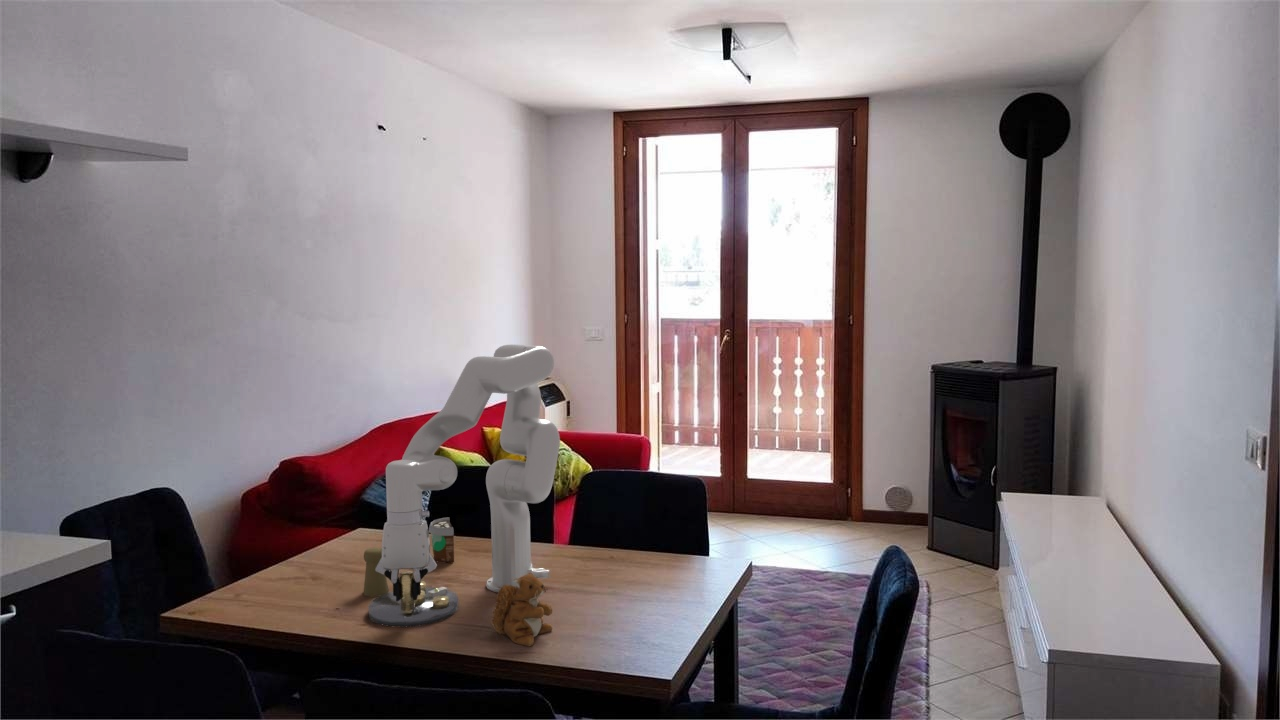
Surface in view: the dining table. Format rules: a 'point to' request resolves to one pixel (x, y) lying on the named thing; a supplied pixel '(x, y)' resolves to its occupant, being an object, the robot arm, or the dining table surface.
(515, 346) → the robot arm
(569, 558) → the dining table surface
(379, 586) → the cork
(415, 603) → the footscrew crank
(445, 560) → the food container
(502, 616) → the stuffed squirrel
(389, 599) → the base
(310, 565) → the dining table surface
